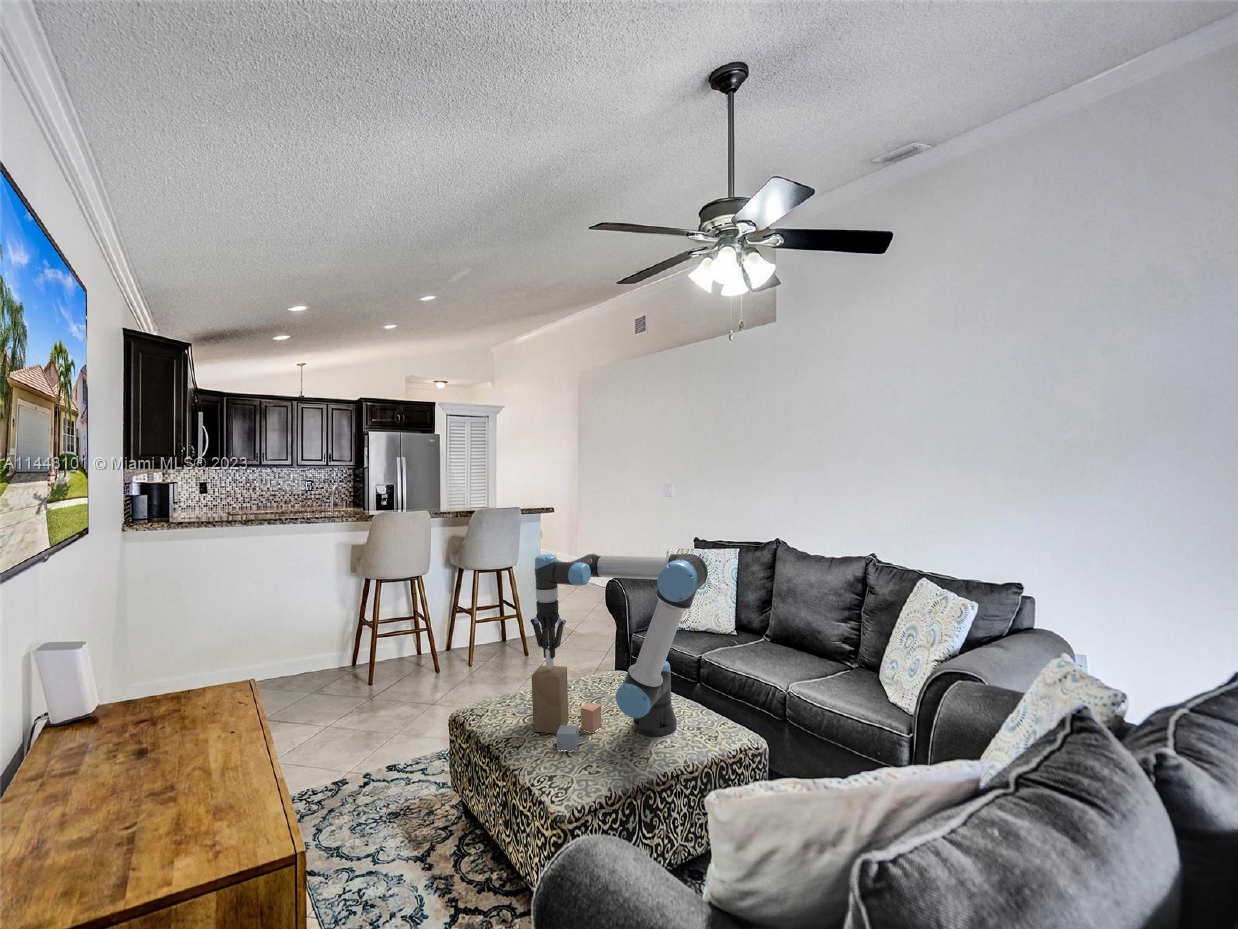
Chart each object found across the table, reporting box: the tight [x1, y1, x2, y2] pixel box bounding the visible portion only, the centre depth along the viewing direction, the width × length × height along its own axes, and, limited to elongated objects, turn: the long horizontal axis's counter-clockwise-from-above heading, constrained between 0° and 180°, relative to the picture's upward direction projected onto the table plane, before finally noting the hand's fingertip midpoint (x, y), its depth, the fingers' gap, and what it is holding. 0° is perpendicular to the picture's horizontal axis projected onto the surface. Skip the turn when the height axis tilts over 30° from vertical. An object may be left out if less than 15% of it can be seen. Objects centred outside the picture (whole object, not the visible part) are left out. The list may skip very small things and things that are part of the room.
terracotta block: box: [580, 702, 603, 732], centre depth 218 cm, size 5×5×8 cm
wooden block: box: [531, 665, 570, 734], centre depth 220 cm, size 10×10×20 cm
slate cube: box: [556, 724, 580, 751], centre depth 206 cm, size 6×6×6 cm
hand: (549, 667), depth 220 cm, fingers closed
